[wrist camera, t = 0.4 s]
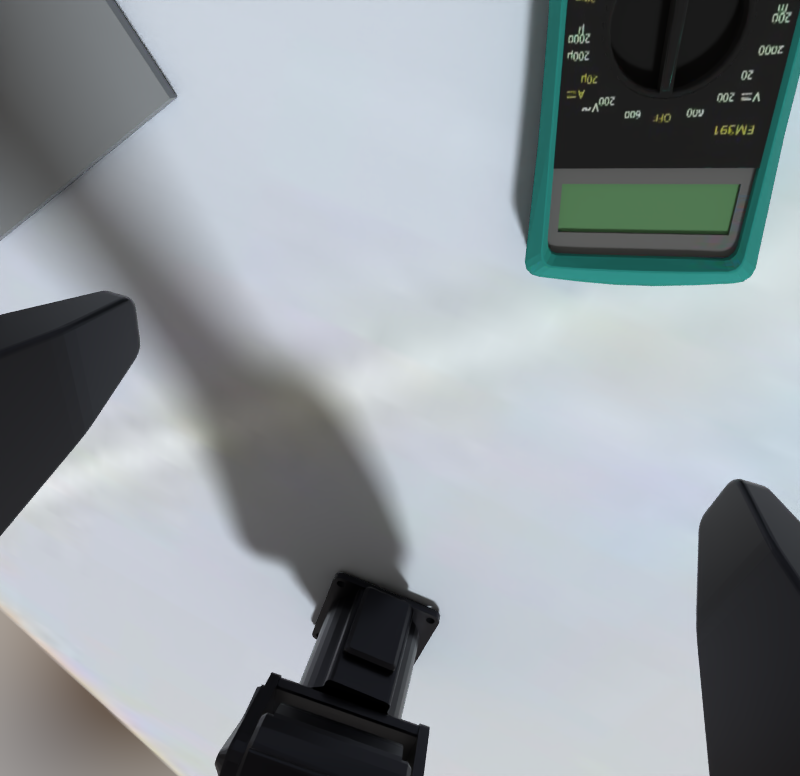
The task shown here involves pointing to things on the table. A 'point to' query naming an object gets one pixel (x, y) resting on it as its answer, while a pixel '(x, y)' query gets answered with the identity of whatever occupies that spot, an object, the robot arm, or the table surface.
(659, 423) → the table surface
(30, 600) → the table surface
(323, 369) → the table surface
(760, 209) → the digital multimeter
